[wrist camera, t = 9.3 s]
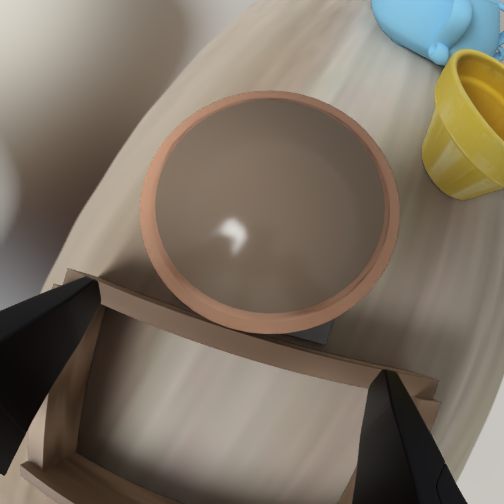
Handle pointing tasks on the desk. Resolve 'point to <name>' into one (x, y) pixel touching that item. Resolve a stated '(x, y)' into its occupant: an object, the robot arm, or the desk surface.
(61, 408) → the frame
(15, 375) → the robot arm
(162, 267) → the terracotta pot
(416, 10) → the decorative pot
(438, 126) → the plant pot
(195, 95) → the desk surface
